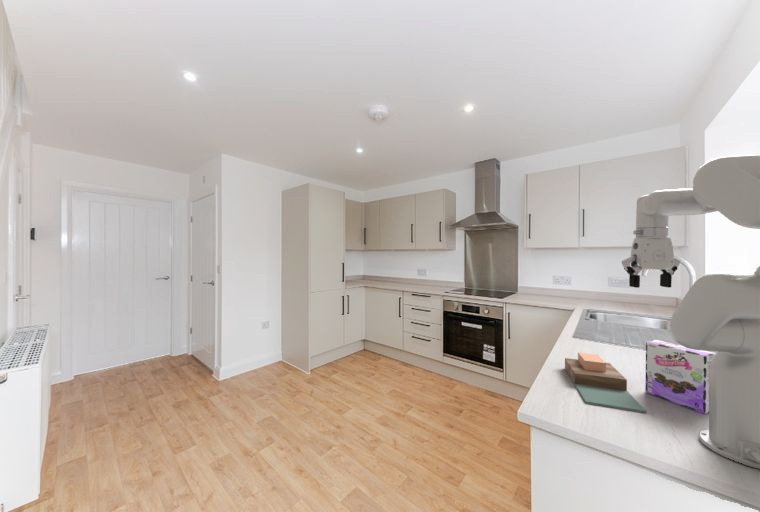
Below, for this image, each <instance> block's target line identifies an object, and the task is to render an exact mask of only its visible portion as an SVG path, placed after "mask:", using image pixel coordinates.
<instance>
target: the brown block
mask: <svg viewBox="0 0 760 512" xmlns="http://www.w3.org/2000/svg"><path fill="white" fill-rule="evenodd" d="M605 363H606V372H603V371H595V370H587V369H584V368H583V366H582V365H581V364H580V362H579V361H578V358H577V359H576V358H568V357H567V358H566V357H565V358H564V369H565V371H566V373H567V372H568V373H567V375H568V376H569V378H570V380H571V381H572V383H573V384H574V385H575V384H581V385H588V386H595V387H602V388H609V389H616V390H623V391H628V387H627V386H628V385H627V384H628V380H627V378H625V376H624V375H623V374H622V373H621V372H619V371H618V370H617V369H616V367H614V366H613V365H612V364H611V363H609V362H605Z"/></svg>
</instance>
